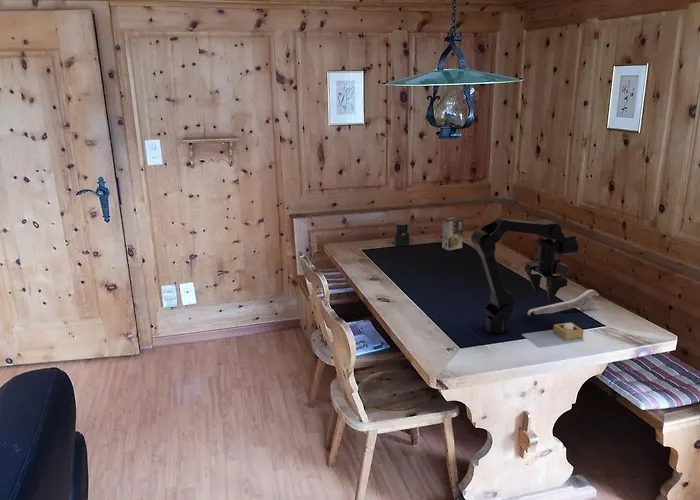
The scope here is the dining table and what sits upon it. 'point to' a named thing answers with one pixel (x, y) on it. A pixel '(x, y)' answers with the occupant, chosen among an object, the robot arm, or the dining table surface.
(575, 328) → the tan square tray
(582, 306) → the wrench
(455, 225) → the coffee box
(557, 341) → the board
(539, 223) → the robot arm
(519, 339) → the dining table surface
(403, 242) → the ink bottle
